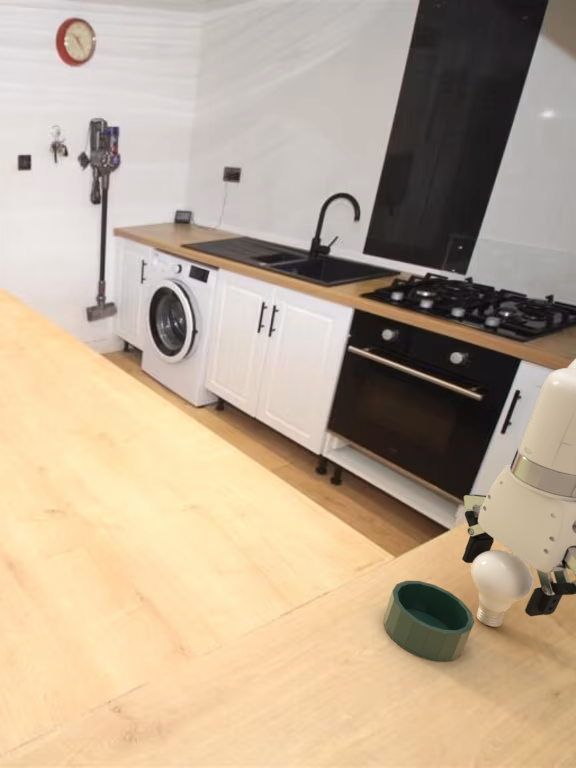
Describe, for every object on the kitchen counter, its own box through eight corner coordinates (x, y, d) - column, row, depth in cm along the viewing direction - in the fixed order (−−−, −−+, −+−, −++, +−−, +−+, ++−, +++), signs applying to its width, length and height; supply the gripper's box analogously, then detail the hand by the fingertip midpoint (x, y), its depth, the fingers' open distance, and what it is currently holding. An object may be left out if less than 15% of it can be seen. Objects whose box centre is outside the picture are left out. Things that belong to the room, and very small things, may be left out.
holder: (434, 608, 75) (445, 581, 73) (478, 663, 67) (491, 634, 65) (371, 607, 75) (379, 579, 73) (406, 662, 67) (417, 633, 65)
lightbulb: (453, 623, 73) (471, 555, 69) (464, 599, 77) (481, 534, 73) (513, 649, 69) (535, 578, 65) (521, 622, 73) (542, 554, 69)
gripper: (664, 515, 56) (597, 636, 63) (512, 434, 72) (472, 539, 79) (604, 521, 55) (542, 644, 62) (463, 438, 71) (426, 544, 78)
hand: (503, 585), depth 70 cm, fingers open, 8 cm apart
